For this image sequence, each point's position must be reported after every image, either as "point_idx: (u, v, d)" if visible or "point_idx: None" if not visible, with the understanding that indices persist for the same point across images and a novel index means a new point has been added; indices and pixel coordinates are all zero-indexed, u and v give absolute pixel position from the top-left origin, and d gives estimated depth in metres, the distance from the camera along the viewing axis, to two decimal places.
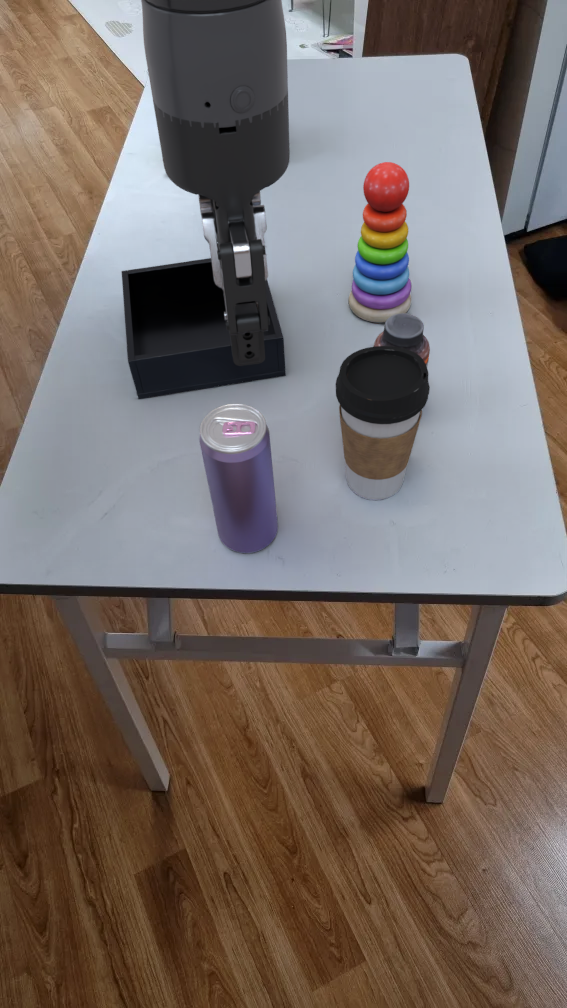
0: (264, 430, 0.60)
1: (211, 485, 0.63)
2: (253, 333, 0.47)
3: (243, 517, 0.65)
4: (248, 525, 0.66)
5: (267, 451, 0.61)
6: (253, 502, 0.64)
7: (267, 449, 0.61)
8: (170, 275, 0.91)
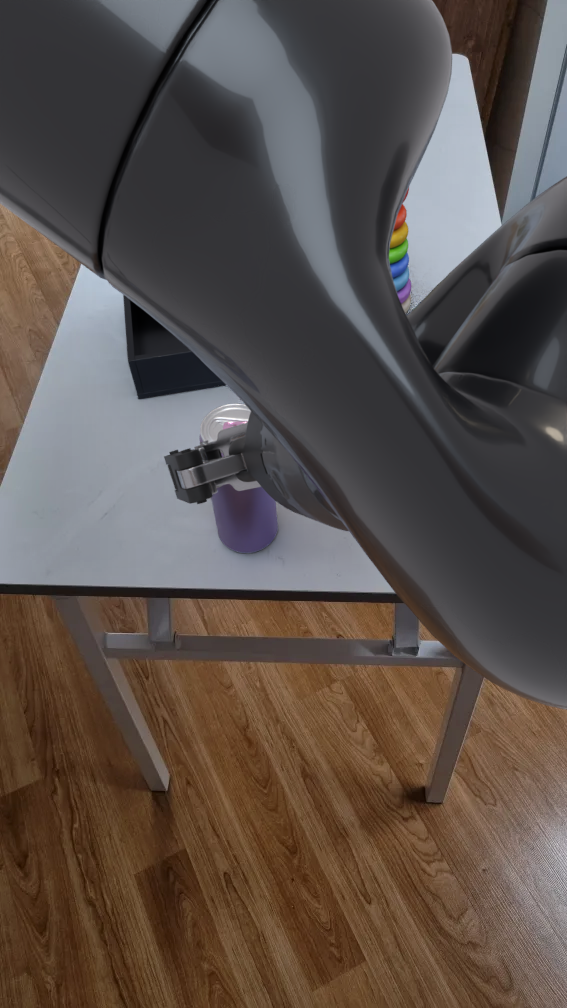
0: None
1: None
2: None
3: (243, 517, 0.65)
4: (248, 525, 0.66)
5: None
6: (253, 502, 0.64)
7: None
8: None
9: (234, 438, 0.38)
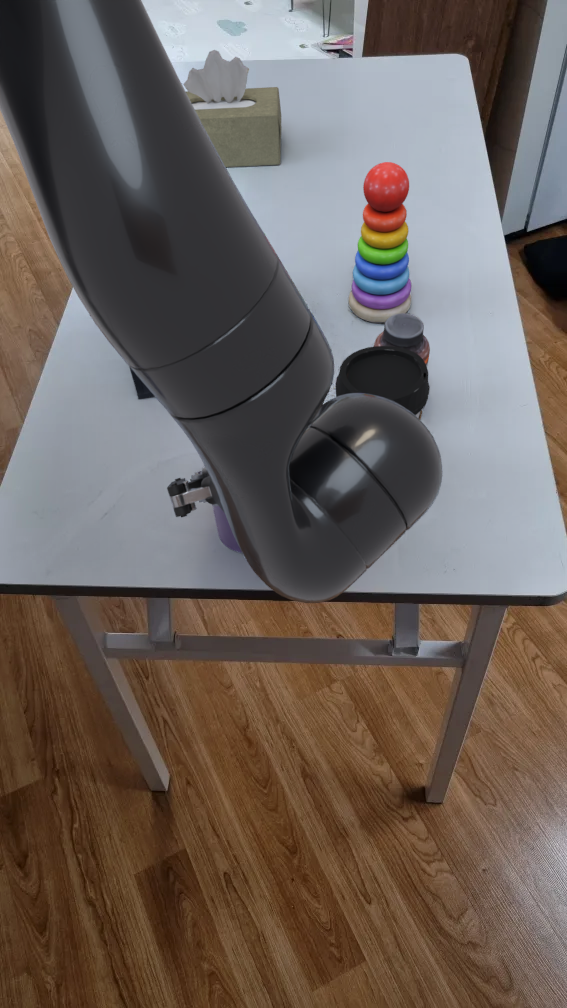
0: None
1: None
2: None
3: None
4: None
5: None
6: None
7: None
8: None
9: None
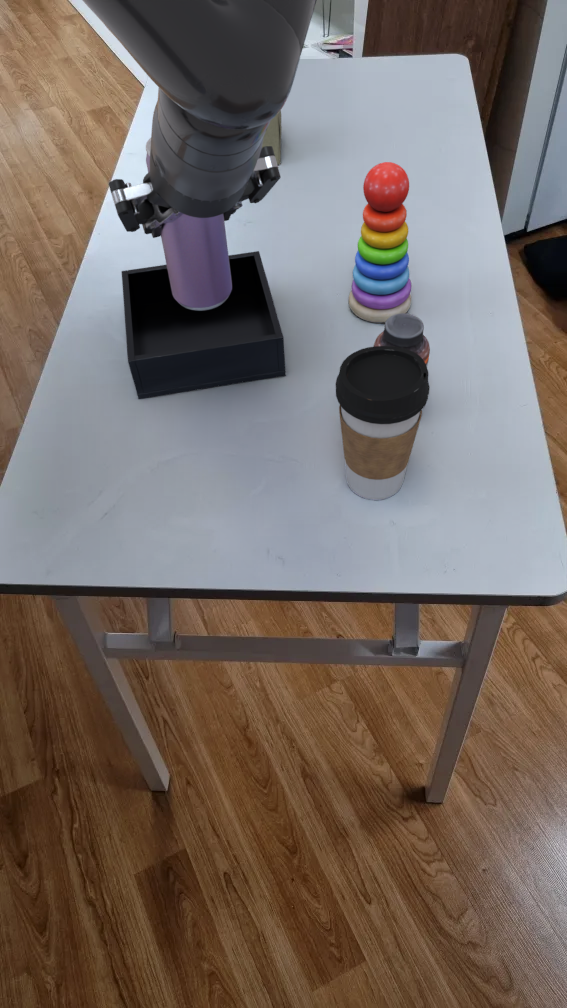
0: None
1: None
2: None
3: (192, 254, 0.65)
4: (198, 267, 0.66)
5: None
6: (202, 235, 0.64)
7: None
8: None
9: None
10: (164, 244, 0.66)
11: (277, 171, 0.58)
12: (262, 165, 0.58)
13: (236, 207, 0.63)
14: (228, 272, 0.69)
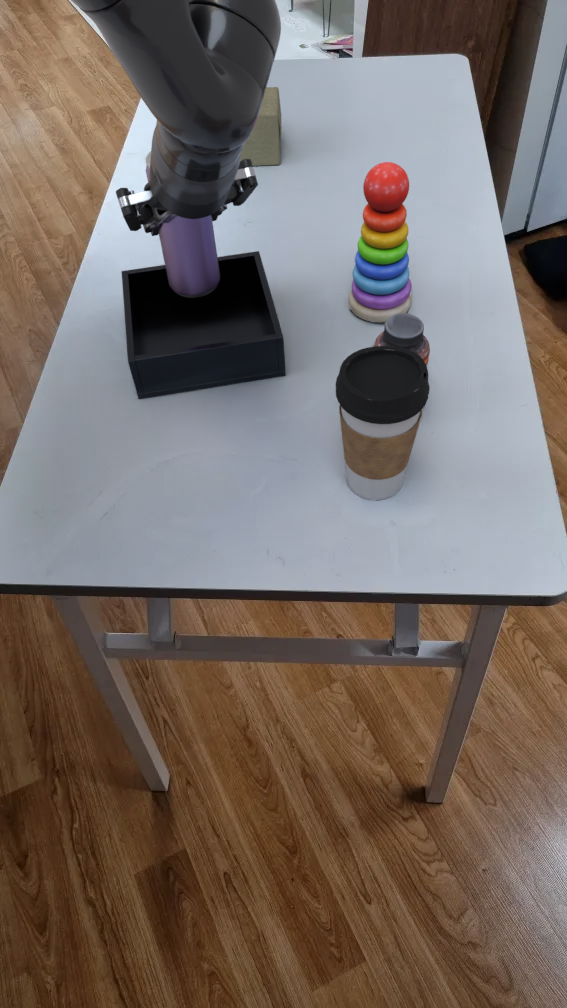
0: None
1: None
2: None
3: (185, 249, 0.77)
4: (191, 260, 0.78)
5: None
6: (193, 233, 0.76)
7: None
8: None
9: None
10: (162, 241, 0.78)
11: (255, 179, 0.70)
12: (242, 175, 0.70)
13: (222, 209, 0.75)
14: (216, 264, 0.81)
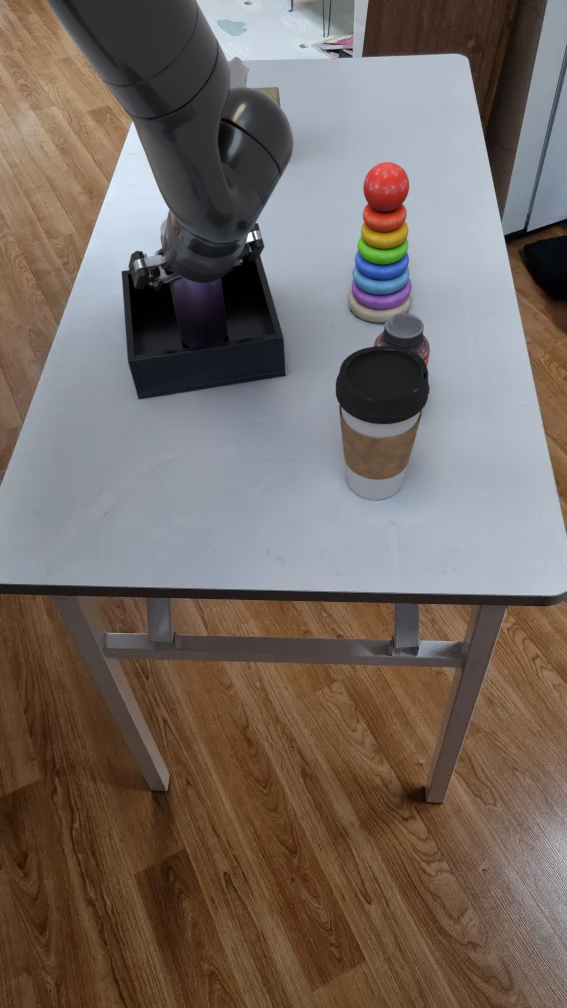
0: None
1: None
2: None
3: (196, 308, 0.83)
4: (201, 317, 0.84)
5: None
6: (204, 294, 0.82)
7: None
8: None
9: None
10: (174, 299, 0.84)
11: (261, 242, 0.75)
12: (249, 238, 0.75)
13: (237, 264, 0.81)
14: (224, 319, 0.87)
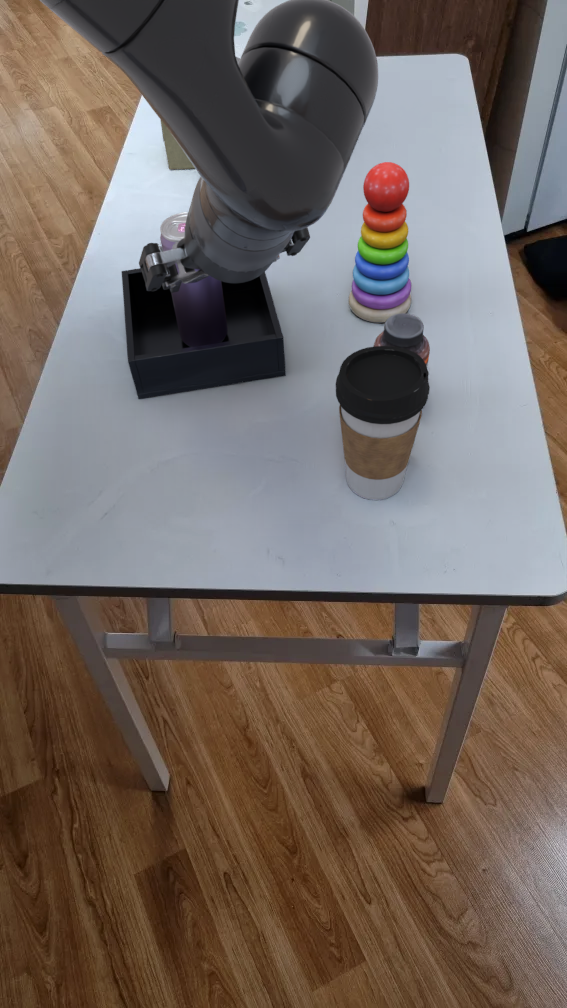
0: None
1: None
2: None
3: (196, 308, 0.83)
4: (201, 317, 0.84)
5: None
6: (204, 294, 0.82)
7: None
8: None
9: None
10: (174, 300, 0.84)
11: (306, 232, 0.60)
12: None
13: (273, 260, 0.65)
14: (224, 319, 0.87)
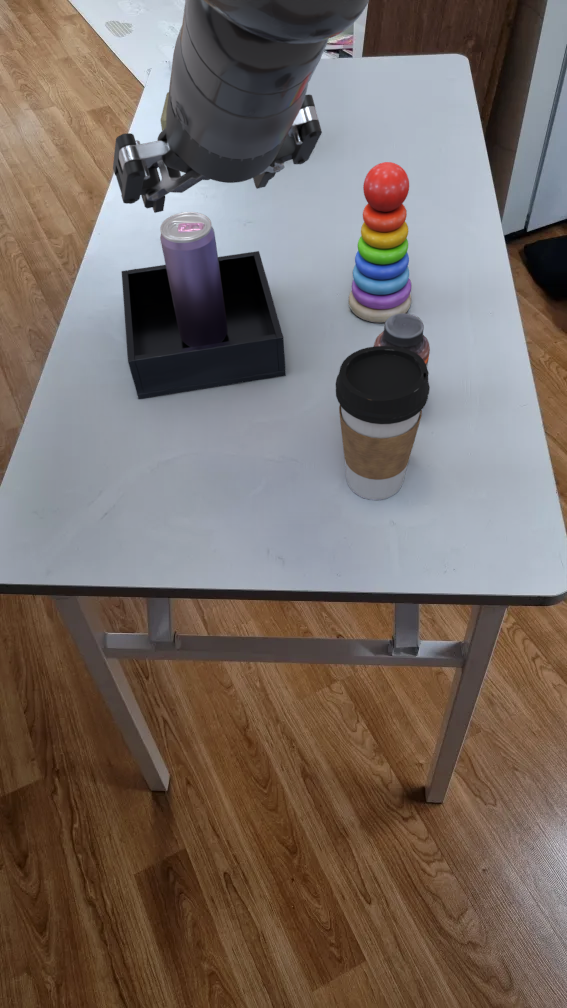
0: (209, 227, 0.78)
1: (171, 279, 0.81)
2: None
3: (196, 308, 0.83)
4: (201, 317, 0.84)
5: (212, 246, 0.79)
6: (204, 294, 0.82)
7: (212, 244, 0.79)
8: None
9: None
10: (174, 300, 0.84)
11: (317, 125, 0.49)
12: (298, 119, 0.49)
13: (277, 169, 0.54)
14: (224, 319, 0.87)
